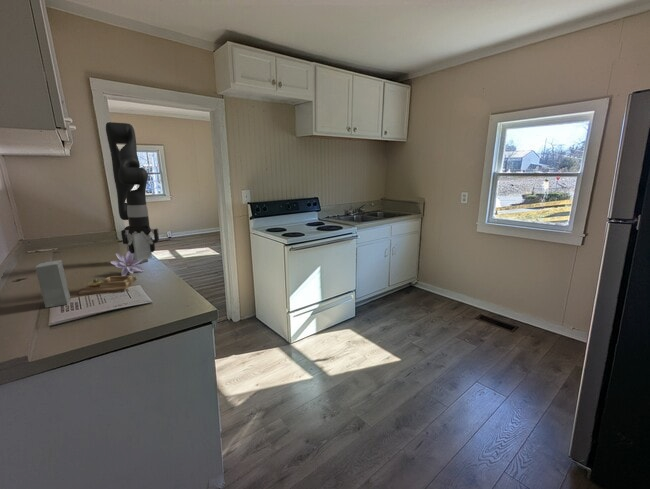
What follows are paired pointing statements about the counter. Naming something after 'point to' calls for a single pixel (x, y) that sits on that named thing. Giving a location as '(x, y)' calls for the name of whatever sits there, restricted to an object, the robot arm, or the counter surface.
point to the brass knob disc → (94, 283)
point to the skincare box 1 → (53, 283)
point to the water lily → (127, 263)
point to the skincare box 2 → (141, 247)
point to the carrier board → (110, 285)
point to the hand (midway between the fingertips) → (142, 252)
